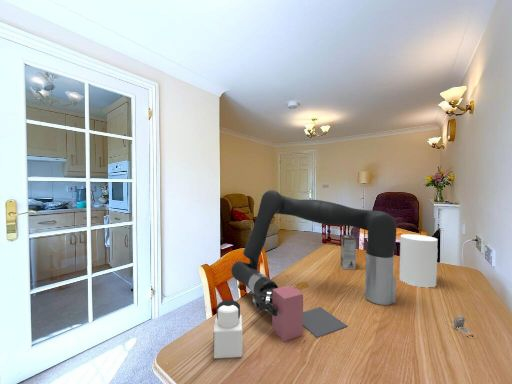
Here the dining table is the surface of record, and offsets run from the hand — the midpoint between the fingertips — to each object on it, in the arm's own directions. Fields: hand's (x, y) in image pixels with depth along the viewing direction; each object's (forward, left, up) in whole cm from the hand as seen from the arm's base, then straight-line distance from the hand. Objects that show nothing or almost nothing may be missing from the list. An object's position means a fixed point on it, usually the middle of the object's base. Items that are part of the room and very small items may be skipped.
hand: (288, 309), depth 67 cm
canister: (-61, -40, -7) cm, 73 cm away
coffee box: (-36, -57, -7) cm, 68 cm away
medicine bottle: (+16, +8, -7) cm, 19 cm away
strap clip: (-52, -5, -8) cm, 52 cm away
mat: (-10, -6, -7) cm, 14 cm away
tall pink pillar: (0, 0, -7) cm, 7 cm away
